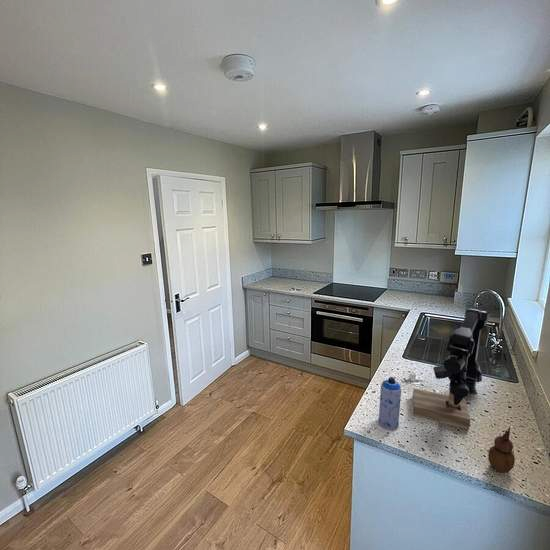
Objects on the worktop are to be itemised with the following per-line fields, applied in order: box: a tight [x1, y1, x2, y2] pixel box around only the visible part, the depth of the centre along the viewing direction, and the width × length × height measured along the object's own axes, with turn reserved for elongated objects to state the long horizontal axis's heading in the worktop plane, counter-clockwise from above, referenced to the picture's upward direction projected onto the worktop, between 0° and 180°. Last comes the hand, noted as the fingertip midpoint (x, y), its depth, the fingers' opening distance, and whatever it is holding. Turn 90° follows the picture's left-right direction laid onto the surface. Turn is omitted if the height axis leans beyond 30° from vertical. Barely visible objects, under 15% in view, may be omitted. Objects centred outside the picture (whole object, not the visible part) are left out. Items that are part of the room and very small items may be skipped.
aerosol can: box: [377, 376, 402, 431], centre depth 117 cm, size 8×8×20 cm
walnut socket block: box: [412, 387, 471, 430], centre depth 125 cm, size 14×20×4 cm
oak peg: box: [448, 390, 460, 410], centre depth 122 cm, size 4×4×9 cm
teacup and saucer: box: [406, 371, 424, 385], centre depth 149 cm, size 9×8×4 cm
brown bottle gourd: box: [487, 427, 516, 474], centre depth 96 cm, size 7×6×15 cm
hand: (454, 398), depth 122 cm, fingers open, 9 cm apart
